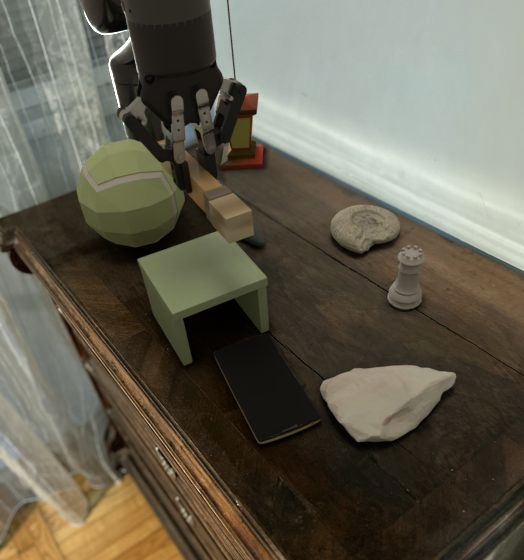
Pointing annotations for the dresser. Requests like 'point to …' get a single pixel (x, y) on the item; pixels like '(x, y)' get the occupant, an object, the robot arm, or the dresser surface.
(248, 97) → the light fixture
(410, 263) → the rook chess piece
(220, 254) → the shelf
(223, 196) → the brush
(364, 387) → the stone
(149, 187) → the decorative sphere
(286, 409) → the smartphone
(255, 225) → the paintbrush
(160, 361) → the dresser surface
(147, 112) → the robot arm
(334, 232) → the fossil
